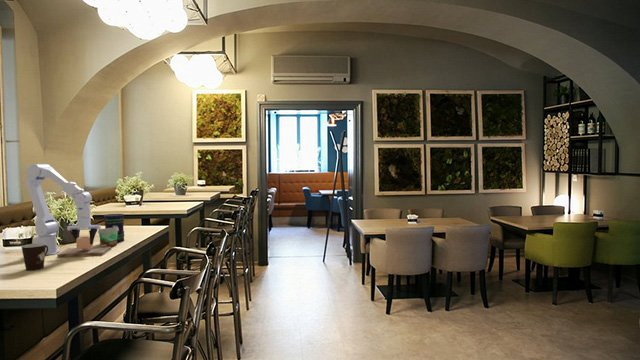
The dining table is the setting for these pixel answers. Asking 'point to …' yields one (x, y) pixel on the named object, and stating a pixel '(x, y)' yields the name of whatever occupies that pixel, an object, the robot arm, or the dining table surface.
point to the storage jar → (115, 224)
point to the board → (84, 252)
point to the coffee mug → (34, 256)
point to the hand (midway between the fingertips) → (84, 244)
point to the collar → (83, 242)
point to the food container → (108, 236)
